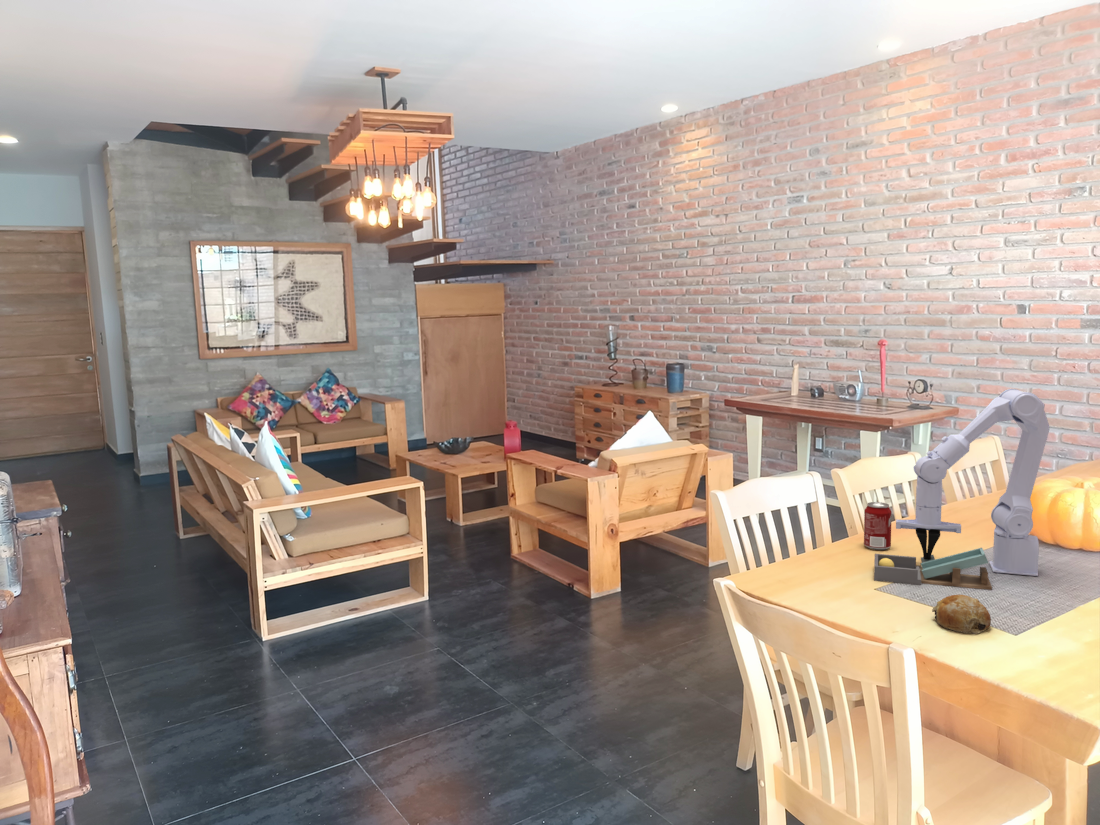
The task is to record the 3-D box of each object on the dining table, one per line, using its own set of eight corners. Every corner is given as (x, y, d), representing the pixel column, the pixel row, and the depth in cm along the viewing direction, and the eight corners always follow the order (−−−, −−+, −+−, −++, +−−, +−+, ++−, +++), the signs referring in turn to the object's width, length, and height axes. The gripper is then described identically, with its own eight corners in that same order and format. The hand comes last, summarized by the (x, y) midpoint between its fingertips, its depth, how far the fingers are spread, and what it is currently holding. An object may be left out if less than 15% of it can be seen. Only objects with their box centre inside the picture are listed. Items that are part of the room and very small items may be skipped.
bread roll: (956, 652, 156) (972, 623, 152) (918, 615, 164) (932, 587, 160) (990, 642, 160) (1007, 614, 156) (951, 607, 168) (967, 579, 164)
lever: (981, 545, 193) (978, 537, 193) (988, 562, 180) (985, 554, 180) (921, 560, 199) (918, 553, 199) (924, 578, 185) (921, 570, 185)
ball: (884, 573, 193) (897, 565, 192) (884, 577, 190) (897, 570, 189) (875, 560, 194) (888, 553, 192) (875, 565, 190) (888, 557, 189)
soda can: (886, 552, 209) (888, 508, 207) (860, 548, 213) (861, 505, 211) (893, 546, 214) (894, 503, 212) (867, 542, 218) (868, 500, 216)
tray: (919, 571, 193) (919, 557, 193) (921, 585, 184) (921, 570, 183) (874, 567, 197) (874, 553, 197) (874, 580, 188) (874, 566, 187)
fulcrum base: (987, 578, 186) (988, 561, 186) (991, 589, 179) (992, 572, 179) (919, 572, 192) (920, 556, 192) (921, 583, 185) (921, 566, 184)
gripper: (960, 503, 195) (958, 556, 197) (896, 499, 201) (894, 551, 202) (962, 510, 188) (960, 564, 190) (896, 506, 194) (895, 559, 196)
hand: (926, 558), depth 196 cm, fingers closed
